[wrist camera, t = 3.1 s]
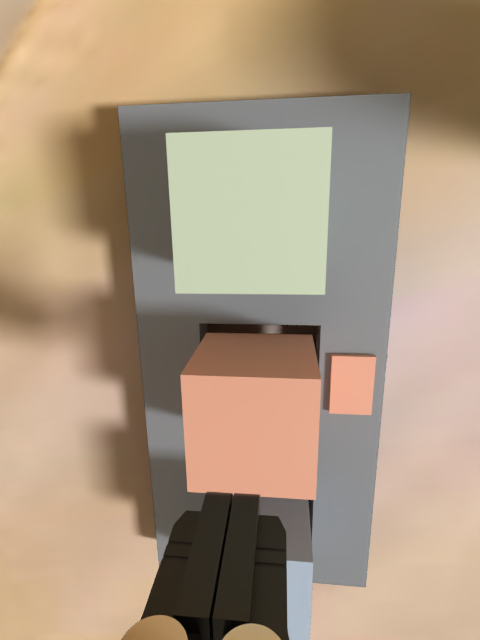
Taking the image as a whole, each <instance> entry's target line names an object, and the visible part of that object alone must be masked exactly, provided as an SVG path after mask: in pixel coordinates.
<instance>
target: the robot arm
mask: <svg viewBox="0 0 480 640" xmlns="http://www.w3.org/2000/svg"><path fill="white" fill-rule="evenodd" d="M286 550H287V549H286V530H285V528H284V526H283V524H282V522H281V520H280V518H279V516H268V515H260V494H243V493H234V496H233V493H223V492H206V495H205V498H204V502H203V505H202V509H201V511H188V510H186V511H185V512H184V513H183V515H182V516H181V517H180V518H179V519H178V520H177V521H176V522H175V524H174V525H173V528H172V531H171V534H170V537H169V540H168V544H167V546H166V549H165V552H164V554H163V559H162V560H161V563H160V566H159V569H158V572H157V575H156V578H155V581H154V584H153V586H152V589H151V592H150V595H149V598H148V601H147V604H146V607H145V610H144V613H143V615H142V617H141V620H140V621H139V622H137V623H136V624H135V625H133V626H132V627H131V628H130V629H129V630H128V631H127V632H126V634H125V635H124V636H123V638H122V640H290V639H289V635H288V628H287V553H286Z"/></svg>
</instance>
